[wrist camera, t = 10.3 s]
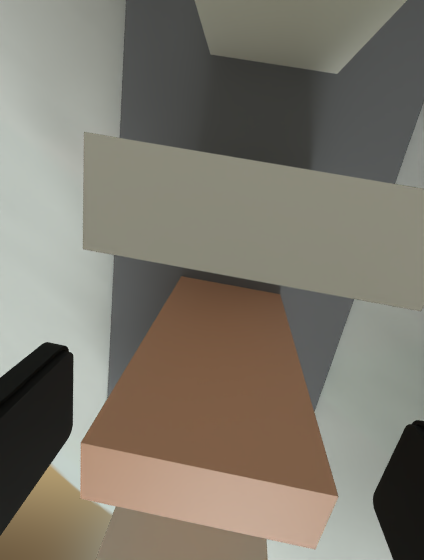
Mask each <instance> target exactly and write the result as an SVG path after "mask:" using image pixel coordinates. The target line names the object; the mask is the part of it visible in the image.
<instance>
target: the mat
mask: <svg viewBox="0 0 424 560" xmlns="http://www.w3.org/2000/svg"><path fill="white" fill-rule="evenodd" d="M423 102H424V0H407V1H406V2H405V3H404V4H403V5H402V6H401V7H400V8H399V9H398V10H397V11H396V13H395V14H394V15H393V16H392V17H391V18H390V19H389V20H388V21H387V22H386V23H385V24H384V25H383V26H382V27H381V28H380V29H379V30H378V31H377V33H376V34H375V35H374V36H373V37H372V38H371V39H370V40H369V41H368V42H367V43H366V44H365V45H364V46H363V47H362V48H361V49H360V50H359V51H358V53H357V54H356V55H355V56H354V57H353V58H352V59H351V60H350V61H349V62H348V63H347V64H346V65H345V66H344V67H343V68H342V69H341V70H340V71H339V73H338V74H334V73H328V72H321V71H315V70H308V69H302V68H295V67H289V66H282V65H276V64H269V63H263V62H256V61H250V60H243V59H237V58H230V57H224V56H217V55H211V54H210V51H209V48H208V44H207V41H206V38H205V34H204V31H203V27H202V24H201V21H200V17H199V14H198V10H197V7H196V4H195V0H126V16H125V37H124V59H123V80H122V101H121V123H120V138H123V139H129V140H135V141H141V142H147V143H153V144H159V145H165V146H171V147H177V148H183V149H189V150H195V151H200V152H206V153H212V154H218V155H224V156H230V157H236V158H242V159H248V160H254V161H260V162H266V163H272V164H278V165H284V166H290V167H296V168H302V169H308V170H314V171H320V172H326V173H332V174H338V175H344V176H350V177H356V178H362V179H368V180H374V181H380V182H386V183H392V184H395V182H396V179H397V176H398V173H399V170H400V167H401V165H402V162H403V159H404V156H405V153H406V150H407V147H408V145H409V142H410V139H411V136H412V133H413V130H414V128H415V125H416V122H417V119H418V116H419V113H420V111H421V108H422V105H423ZM181 276H183V277H188V278H194V279H199V280H205V281H210V282H216V283H221V284H226V285H232V286H237V287H243V288H248V289H254V290H259V291H265V292H270V293H276V294H280V295H281V299H282V302H283V306H284V309H285V313H286V316H287V320H288V323H289V327H290V330H291V334H292V337H293V340H294V344H295V347H296V351H297V354H298V358H299V361H300V365H301V368H302V372H303V375H304V379H305V382H306V386H307V389H308V393H309V396H310V400H311V403H312V406H313V410H314V411H315V408H316V405H317V403H318V400H319V397H320V394H321V391H322V388H323V386H324V383H325V380H326V377H327V374H328V371H329V369H330V366H331V363H332V360H333V357H334V354H335V352H336V349H337V346H338V343H339V340H340V337H341V335H342V332H343V329H344V326H345V323H346V320H347V318H348V315H349V312H350V309H351V306H352V303H353V301H354V299H352V298H346V297H341V296H335V295H330V294H324V293H319V292H314V291H308V290H303V289H297V288H292V287H286V286H281V285H275V284H270V283H265V282H259V281H254V280H248V279H243V278H237V277H232V276H226V275H221V274H216V273H210V272H205V271H199V270H194V269H188V268H183V267H177V266H172V265H167V264H161V263H156V262H150V261H145V260H139V259H134V258H129V257H123V256H118V255H114V272H113V293H112V314H111V335H110V357H109V378H108V397H109V395H110V394H111V392H112V390H113V389H114V387H115V385H116V384H117V382H118V380H119V379H120V377H121V375H122V374H123V372H124V371H125V369H126V367H127V366H128V364H129V362H130V361H131V359H132V357H133V356H134V354H135V352H136V351H137V349H138V347H139V346H140V344H141V342H142V341H143V339H144V337H145V336H146V334H147V332H148V331H149V329H150V327H151V326H152V324H153V322H154V321H155V319H156V317H157V316H158V314H159V313H160V311H161V309H162V308H163V306H164V304H165V303H166V301H167V299H168V298H169V296H170V294H171V293H172V291H173V289H174V288H175V286H176V284H177V283H178V281H179V279H180V278H181Z"/></svg>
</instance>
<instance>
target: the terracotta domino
mask: <svg viewBox="0 0 424 560" xmlns="http://www.w3.org/2000/svg"><path fill="white" fill-rule="evenodd" d="M81 499H85V500H89V501H94V502H99V503H103V504H108V505H113V506H117V507H122V508H126V509H131V510H136V511H140V512H145V513H149V514H154V515H159V516H163V517H168V518H173V519H177V520H182V521H186V522H191V523H196V524H200V525H205V526H209V527H214V528H219V529H223V530H228V531H232V532H237V533H242V534H246V535H251V536H256V537H260V538H265V539H269V540H274V541H279V542H283V543H288V544H292V545H297V546H302V547H306V548H311V549H316V547H317V544H318V542H319V540H320V538H321V535H322V533H323V531H324V528H325V526H326V524H327V522H328V519H329V517H330V515H331V513H332V510H333V508H334V506H335V503H336V501H337V499H338V493H337V490H336V486H335V483H334V479H333V476H332V472H331V469H330V466H329V462H328V459H327V455H326V452H325V448H324V445H323V441H322V438H321V434H320V431H319V427H318V424H317V420H316V417H315V413H314V410H313V406H312V403H311V400H310V396H309V393H308V389H307V386H306V382H305V379H304V375H303V372H302V368H301V365H300V361H299V358H298V354H297V351H296V347H295V344H294V340H293V337H292V334H291V330H290V327H289V323H288V320H287V316H286V313H285V309H284V306H283V302H282V299H281V295H280V294H276V293H270V292H265V291H259V290H254V289H248V288H243V287H237V286H232V285H226V284H221V283H216V282H210V281H205V280H199V279H194V278H188V277H183V276H181V278H180V279H179V281H178V283H177V284H176V286H175V288H174V289H173V291H172V293H171V294H170V296H169V298H168V299H167V301H166V303H165V304H164V306H163V308H162V309H161V311H160V313H159V314H158V316H157V317H156V319H155V321H154V322H153V324H152V326H151V327H150V329H149V331H148V332H147V334H146V336H145V337H144V339H143V341H142V342H141V344H140V346H139V347H138V349H137V351H136V352H135V354H134V356H133V357H132V359H131V361H130V362H129V364H128V366H127V367H126V369H125V371H124V372H123V374H122V375H121V377H120V379H119V380H118V382H117V384H116V385H115V387H114V389H113V390H112V392H111V394H110V395H109V397H108V399H107V400H106V402H105V404H104V405H103V407H102V409H101V410H100V412H99V414H98V415H97V417H96V419H95V420H94V422H93V424H92V425H91V427H90V429H89V430H88V432H87V433H86V435H85V437H84V438H83V440H82V442H81Z"/></svg>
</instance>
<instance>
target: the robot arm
mask: <svg viewBox="0 0 424 560" xmlns="http://www.w3.org/2000/svg"><path fill="white" fill-rule="evenodd" d="M72 426H73V354H72V353H71V352H69V349H68V347H66V346H63V345H58V344H54V343H49V342H46V343H44V344H42V345H41V346H39V347H38V348H37V349H36V350H34V351H33V352H32V353H31V354H29V355H28V356H27V357H26V358H24V359H23V360H22V361H21V362H19V363H18V364H17V365H16V366H14V367H13V368H12V369H11V370H9V371H8V372H7V373H6V374H4V375H3V376H2V377H1V378H0V535H1V534H2V533H3V531H4V530H5V528H6V527H7V525H8V524H9V523H10V521H11V520H12V518H13V517H14V515H15V514H16V512H17V511H18V510H19V508H20V507H21V505H22V504H23V502H24V501H25V500H26V498H27V497H28V495H29V494H30V492H31V491H32V490H33V488H34V486H35V485H36V484H37V482H38V481H39V480H40V478H41V477H42V475H43V474H44V472H45V471H46V470H47V468H48V467H49V465H50V464H51V462H52V461H53V459H54V458H55V457H56V455H57V454H58V452H59V451H60V449H61V448H62V447H63V445H64V444H65V442H66V441H67V439H68V438H69V436H70V433H71V431H72ZM373 505H374V509H375V512H376V515H377V518H378V520H379V523H380V526H381V528H382V531H383V533H384V536H385V539H386V541H387V544H388V547H389V549H390V552H391V555H392V557H393V560H424V421H420V420H416V421H414V422H413V423H412V425H411V424H409V425H407V426H406V428H405V429H404V431H403V434H402V436H401V438H400V440H399V442H398V444H397V446H396V448H395V450H394V452H393V455H392V457H391V459H390V461H389V463H388V465H387V467H386V469H385V471H384V473H383V476H382V478H381V480H380V482H379V484H378V486H377V488H376V490H375V492H374V495H373Z"/></svg>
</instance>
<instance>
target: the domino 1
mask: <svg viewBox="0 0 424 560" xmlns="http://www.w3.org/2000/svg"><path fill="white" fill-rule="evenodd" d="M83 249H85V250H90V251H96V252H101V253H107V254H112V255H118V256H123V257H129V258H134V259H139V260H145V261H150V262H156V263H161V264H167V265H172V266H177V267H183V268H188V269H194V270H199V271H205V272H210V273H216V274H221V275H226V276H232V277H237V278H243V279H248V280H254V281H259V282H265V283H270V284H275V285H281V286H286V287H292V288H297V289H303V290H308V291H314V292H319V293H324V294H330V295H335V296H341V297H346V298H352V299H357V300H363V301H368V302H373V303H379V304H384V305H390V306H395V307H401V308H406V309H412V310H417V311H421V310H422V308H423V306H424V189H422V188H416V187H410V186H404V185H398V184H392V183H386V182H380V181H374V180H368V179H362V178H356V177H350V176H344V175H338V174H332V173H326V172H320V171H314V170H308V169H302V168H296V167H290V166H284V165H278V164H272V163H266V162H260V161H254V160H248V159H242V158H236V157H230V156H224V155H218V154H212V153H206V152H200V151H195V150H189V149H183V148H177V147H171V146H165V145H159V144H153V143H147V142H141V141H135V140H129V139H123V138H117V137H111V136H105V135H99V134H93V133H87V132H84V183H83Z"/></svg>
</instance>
